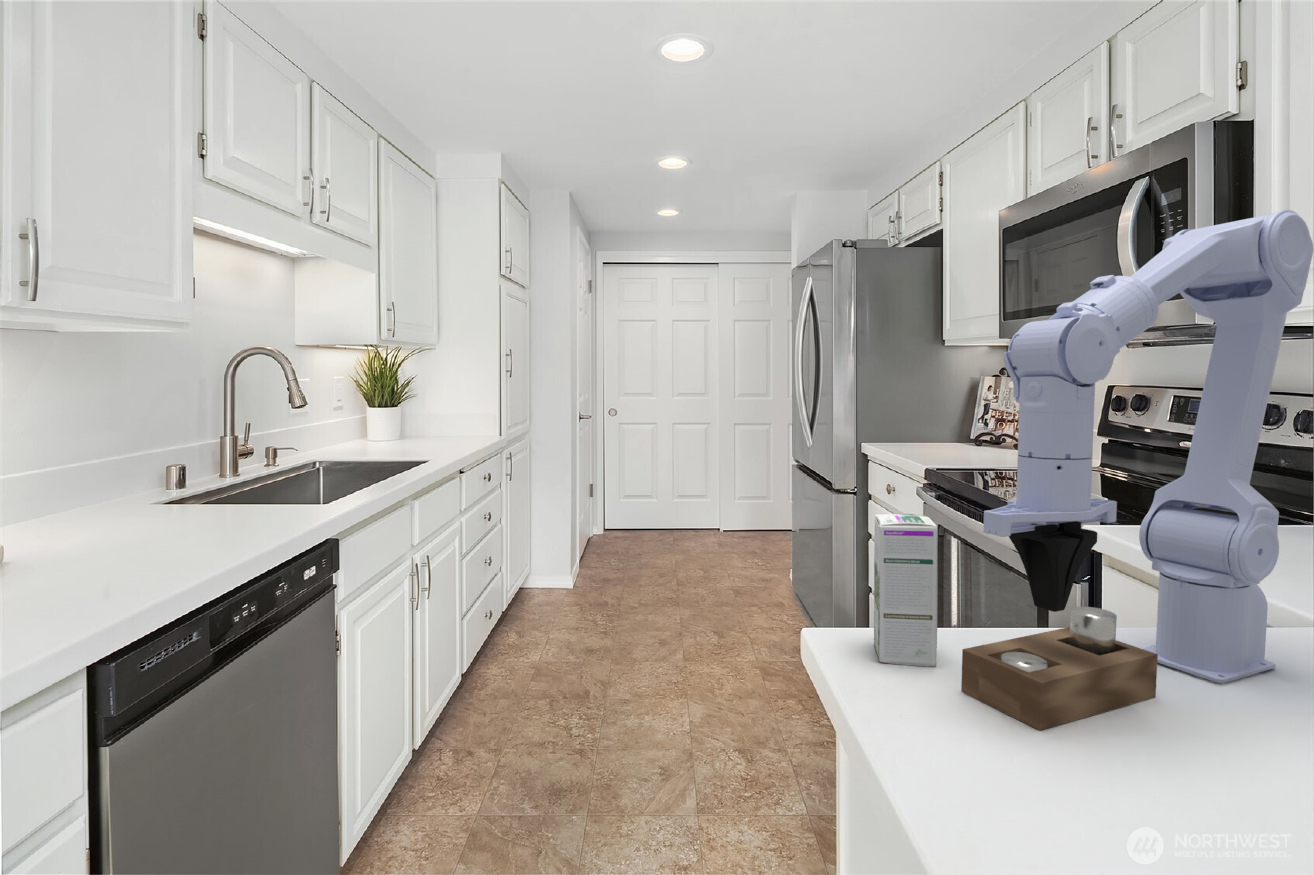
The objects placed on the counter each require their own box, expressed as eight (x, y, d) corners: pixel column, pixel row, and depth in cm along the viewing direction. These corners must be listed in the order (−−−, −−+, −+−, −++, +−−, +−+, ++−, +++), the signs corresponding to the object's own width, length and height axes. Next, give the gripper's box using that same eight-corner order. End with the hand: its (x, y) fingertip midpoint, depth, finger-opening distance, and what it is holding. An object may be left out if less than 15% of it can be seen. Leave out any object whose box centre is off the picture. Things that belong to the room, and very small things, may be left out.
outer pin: (1019, 689, 64) (1020, 649, 64) (1055, 706, 61) (1057, 663, 60) (990, 696, 62) (992, 655, 62) (1026, 714, 59) (1027, 670, 59)
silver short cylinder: (1086, 643, 67) (1087, 604, 67) (1123, 656, 64) (1125, 615, 64) (1060, 648, 66) (1062, 609, 66) (1097, 662, 63) (1099, 621, 62)
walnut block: (1071, 665, 70) (1073, 626, 70) (1155, 697, 63) (1157, 654, 62) (961, 691, 64) (962, 649, 64) (1039, 730, 57) (1041, 682, 56)
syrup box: (938, 668, 69) (942, 524, 68) (876, 663, 71) (879, 522, 70) (927, 647, 75) (931, 514, 74) (870, 643, 76) (873, 512, 75)
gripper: (1067, 449, 68) (1062, 586, 69) (956, 456, 62) (953, 605, 63) (1142, 455, 61) (1136, 606, 62) (1027, 464, 55) (1022, 630, 56)
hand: (1049, 607), depth 62 cm, fingers closed
